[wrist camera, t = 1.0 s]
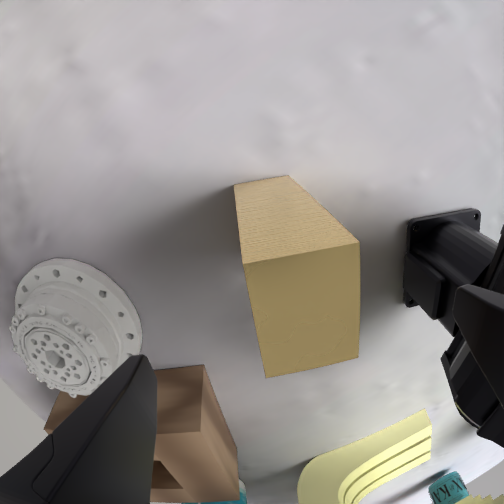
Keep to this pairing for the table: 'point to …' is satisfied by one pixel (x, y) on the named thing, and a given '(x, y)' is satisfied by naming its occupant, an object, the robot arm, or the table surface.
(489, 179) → the table surface
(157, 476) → the slotted wooden block
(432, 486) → the beverage bottle
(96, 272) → the mechanical component
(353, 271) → the brushed gold block
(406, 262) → the robot arm
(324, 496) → the slatted curved stool
